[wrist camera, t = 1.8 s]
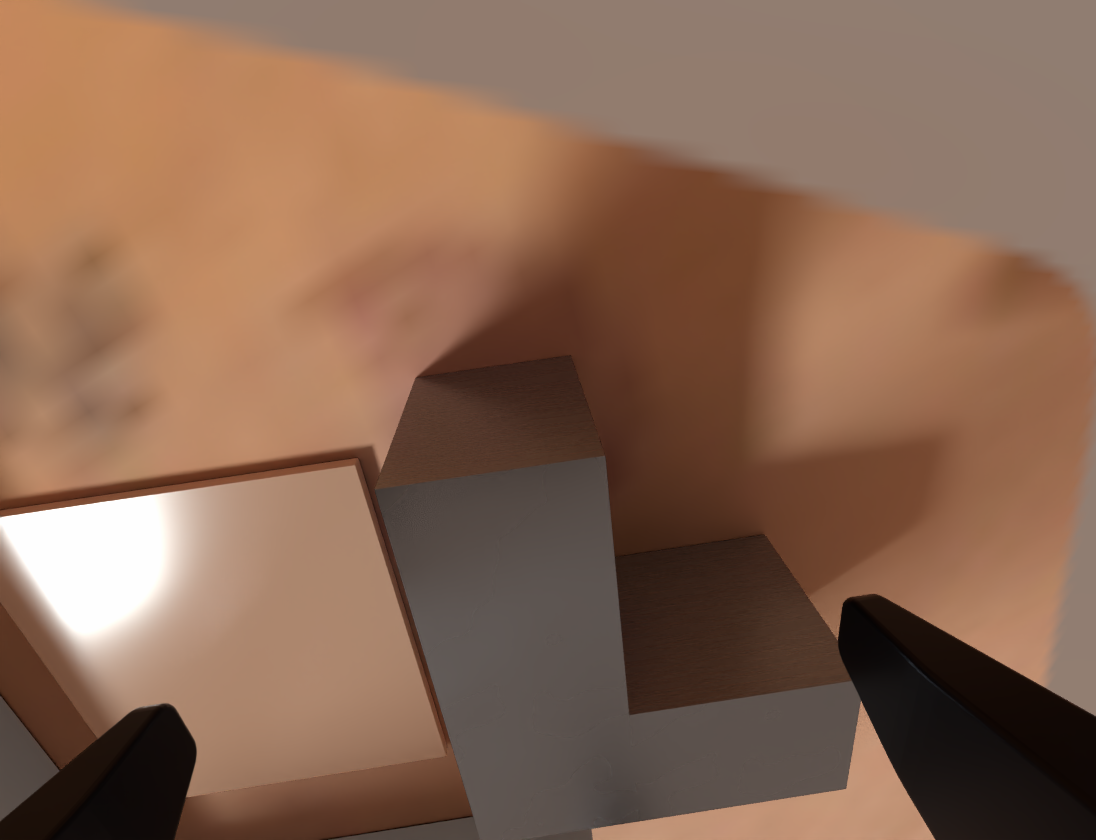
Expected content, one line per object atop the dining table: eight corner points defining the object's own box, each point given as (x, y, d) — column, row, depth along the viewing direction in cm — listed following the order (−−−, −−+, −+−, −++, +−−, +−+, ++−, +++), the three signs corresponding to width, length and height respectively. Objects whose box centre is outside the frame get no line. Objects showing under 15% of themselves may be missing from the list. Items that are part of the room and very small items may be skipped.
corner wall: (591, 828, 18) (608, 951, 15) (109, 905, 17) (37, 1045, 15) (522, 387, 11) (531, 463, 8) (-243, 498, 11) (-488, 614, 8)
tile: (447, 746, 15) (446, 756, 15) (150, 792, 15) (144, 803, 15) (358, 457, 12) (355, 465, 11) (-42, 516, 11) (-55, 525, 11)
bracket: (760, 630, 14) (845, 788, 11) (486, 671, 14) (482, 845, 11) (775, 325, 11) (908, 411, 7) (415, 377, 11) (374, 489, 7)
